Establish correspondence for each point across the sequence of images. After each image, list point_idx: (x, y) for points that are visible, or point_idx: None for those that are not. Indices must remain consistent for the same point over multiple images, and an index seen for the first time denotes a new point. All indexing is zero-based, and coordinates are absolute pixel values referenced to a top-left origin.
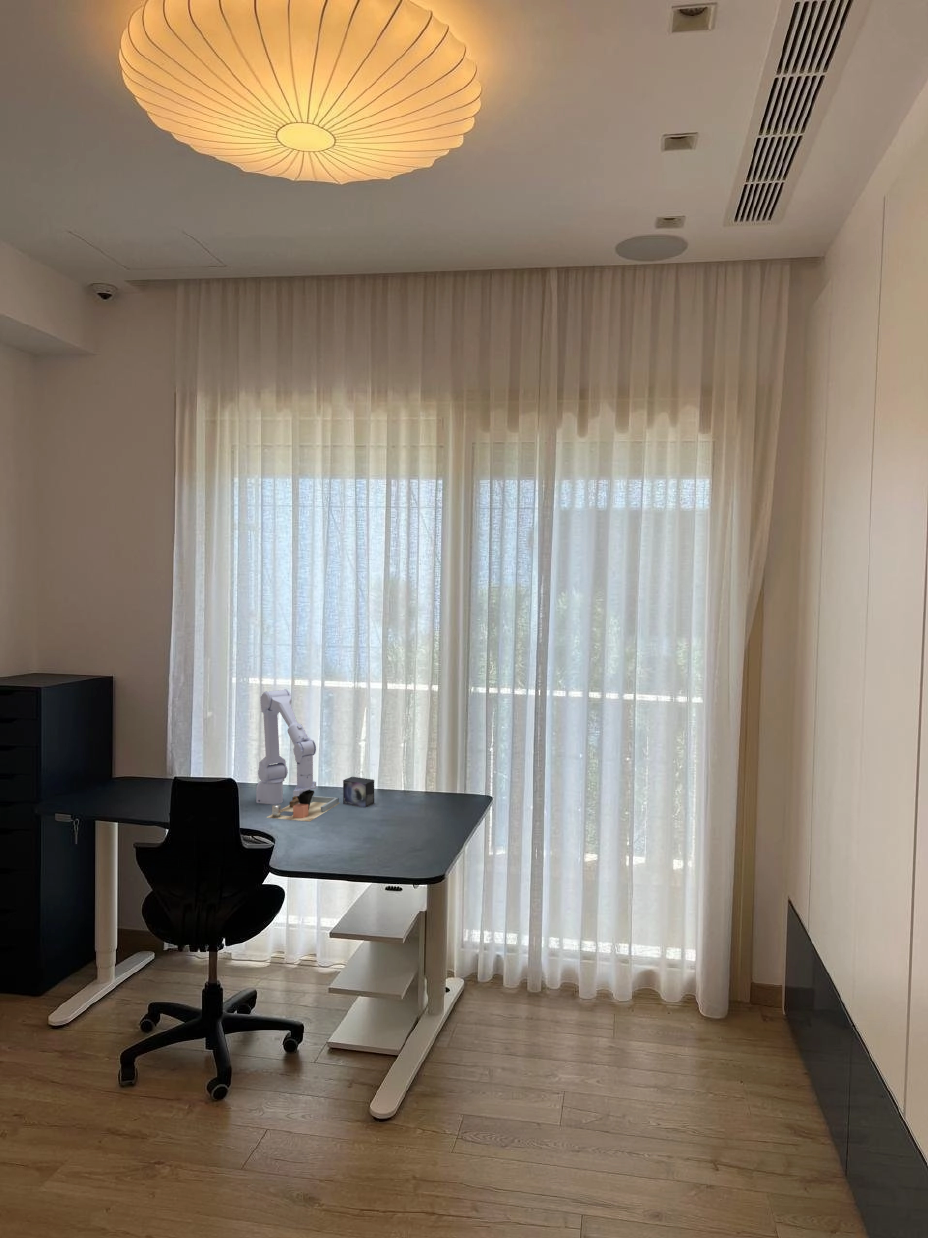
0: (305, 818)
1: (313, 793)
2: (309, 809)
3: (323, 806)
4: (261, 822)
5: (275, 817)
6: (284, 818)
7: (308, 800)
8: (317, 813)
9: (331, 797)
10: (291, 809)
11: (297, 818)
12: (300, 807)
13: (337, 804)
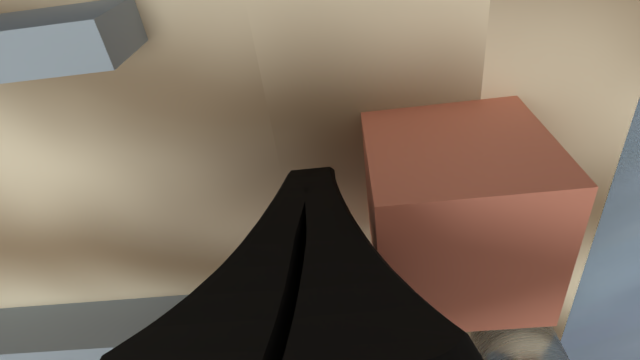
0: (530, 60)
1: (143, 356)
2: (145, 222)
3: (66, 32)
4: (584, 353)
5: (552, 327)
6: None
7: (351, 264)
8: (231, 45)
9: None
10: None
11: None
12: (580, 224)
13: None
